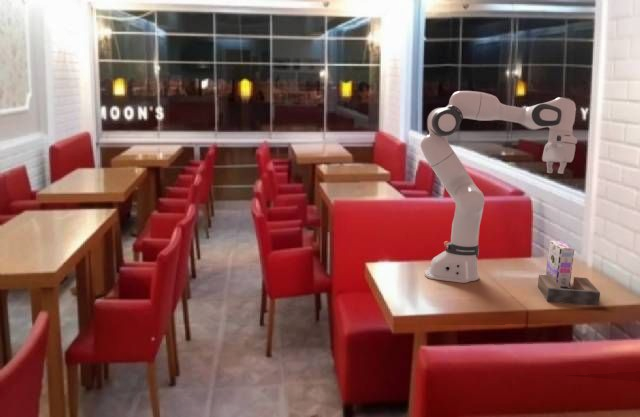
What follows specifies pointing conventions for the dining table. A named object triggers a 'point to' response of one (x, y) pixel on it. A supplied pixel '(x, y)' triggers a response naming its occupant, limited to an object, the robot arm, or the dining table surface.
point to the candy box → (560, 262)
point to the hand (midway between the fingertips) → (554, 173)
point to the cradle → (569, 291)
